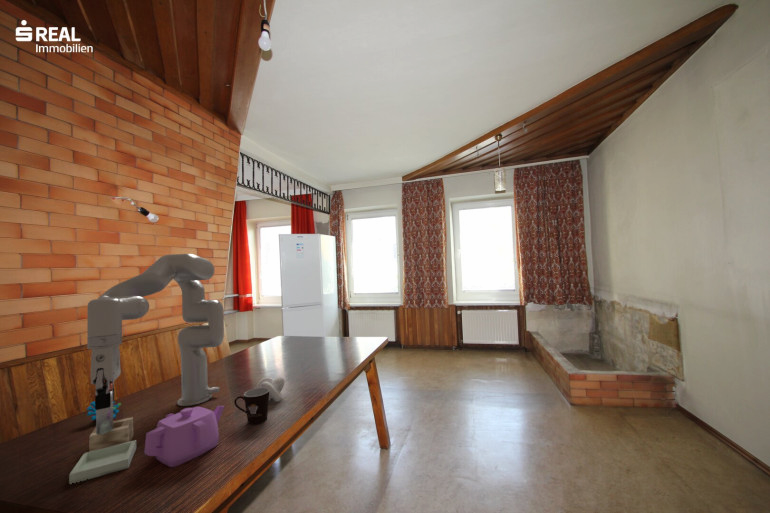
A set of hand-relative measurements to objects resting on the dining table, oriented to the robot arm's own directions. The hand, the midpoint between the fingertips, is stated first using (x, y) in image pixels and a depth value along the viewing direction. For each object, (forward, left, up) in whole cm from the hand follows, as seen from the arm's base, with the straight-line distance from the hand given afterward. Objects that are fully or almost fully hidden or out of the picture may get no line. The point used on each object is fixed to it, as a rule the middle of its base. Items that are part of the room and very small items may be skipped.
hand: (105, 405), depth 90 cm
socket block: (+1, -13, -17) cm, 21 cm away
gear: (+8, -41, -17) cm, 45 cm away
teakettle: (-20, +5, -17) cm, 27 cm away
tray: (0, 0, -17) cm, 17 cm away
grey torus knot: (-49, -19, -17) cm, 55 cm away
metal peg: (0, 0, -7) cm, 7 cm away
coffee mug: (-40, -4, -17) cm, 44 cm away
